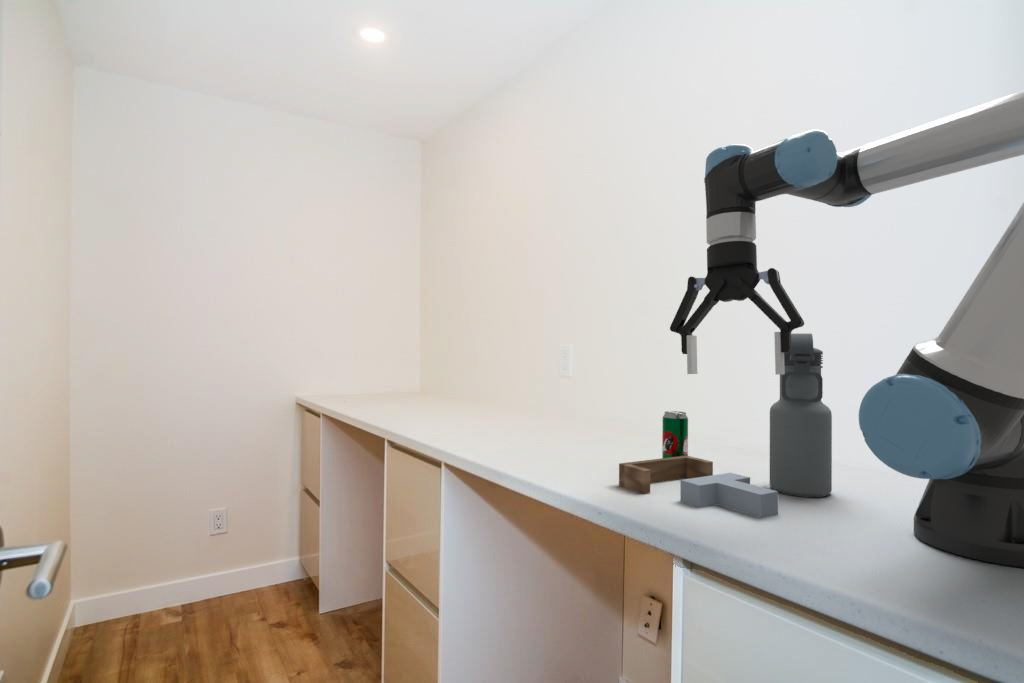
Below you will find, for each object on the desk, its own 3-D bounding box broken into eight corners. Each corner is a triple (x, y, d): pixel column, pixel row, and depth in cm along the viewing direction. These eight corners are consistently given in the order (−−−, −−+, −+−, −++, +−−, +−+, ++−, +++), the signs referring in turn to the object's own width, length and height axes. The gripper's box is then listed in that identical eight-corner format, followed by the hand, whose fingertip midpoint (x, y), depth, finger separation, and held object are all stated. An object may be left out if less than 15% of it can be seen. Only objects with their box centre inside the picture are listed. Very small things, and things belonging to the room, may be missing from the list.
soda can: (689, 473, 108) (689, 414, 108) (663, 472, 109) (663, 413, 109) (686, 468, 113) (686, 411, 113) (661, 467, 114) (661, 410, 114)
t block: (742, 522, 78) (742, 498, 78) (680, 501, 89) (680, 479, 89) (794, 511, 84) (794, 488, 84) (730, 492, 94) (730, 472, 94)
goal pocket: (712, 483, 101) (712, 461, 101) (643, 493, 93) (643, 470, 93) (686, 475, 107) (686, 455, 107) (619, 485, 98) (619, 463, 99)
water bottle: (835, 501, 89) (835, 332, 89) (769, 494, 93) (770, 332, 94) (828, 487, 98) (828, 334, 99) (769, 481, 102) (769, 334, 103)
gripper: (821, 236, 83) (826, 374, 83) (666, 257, 99) (668, 373, 98) (813, 227, 78) (818, 375, 77) (649, 250, 93) (651, 374, 92)
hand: (734, 374), depth 87 cm, fingers open, 13 cm apart
